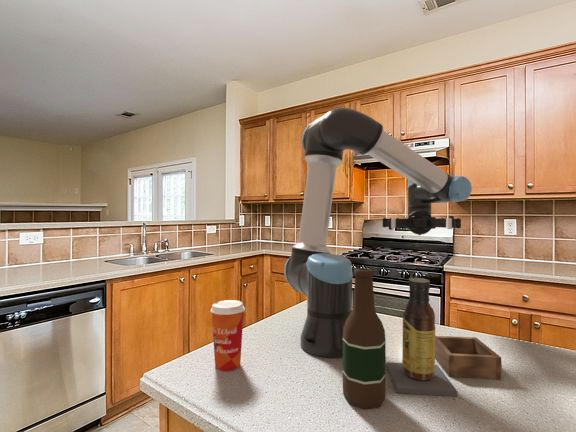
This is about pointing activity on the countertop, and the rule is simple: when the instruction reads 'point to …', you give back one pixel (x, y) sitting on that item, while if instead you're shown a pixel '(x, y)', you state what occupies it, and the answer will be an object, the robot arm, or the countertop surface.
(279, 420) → the countertop surface
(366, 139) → the robot arm
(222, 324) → the paper cup
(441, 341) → the collar
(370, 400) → the beer bottle
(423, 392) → the rubber mat
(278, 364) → the countertop surface
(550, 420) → the countertop surface
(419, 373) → the sauce bottle
